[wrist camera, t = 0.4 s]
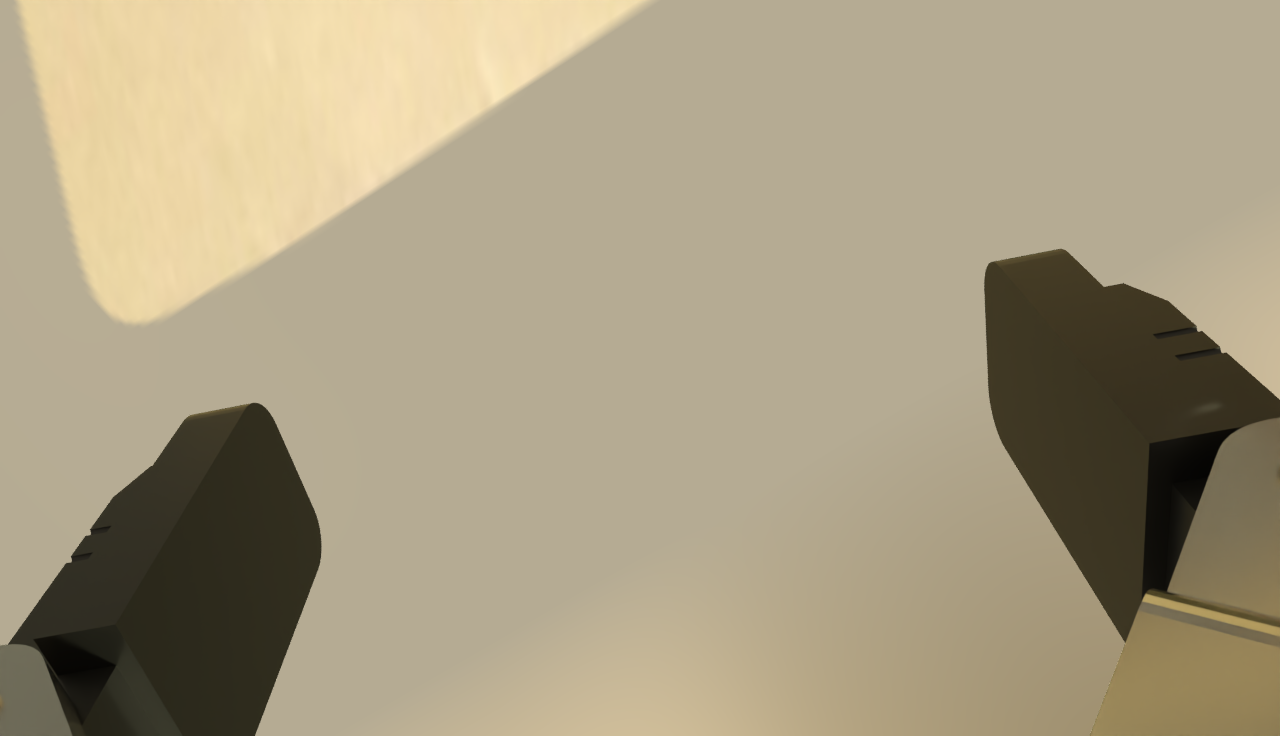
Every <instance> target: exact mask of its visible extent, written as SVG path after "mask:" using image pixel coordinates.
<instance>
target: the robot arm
mask: <svg viewBox="0 0 1280 736" xmlns="http://www.w3.org/2000/svg"><path fill="white" fill-rule="evenodd" d="M984 284H985V285H984V287H985V288H984V291H985V313H986V340H987V364H988V386H989V387H988V388H989V398H990V404H991V410H992V414H993V419H994V422H995V426H996V428H997V431H998V434H999V437H1000V439H1001V441H1002V443H1003V445H1004V447H1005V449H1006V450H1007V452H1008V453H1009V455H1010V457H1011V459H1012V460H1013V462H1014V463H1015V465H1016V467H1017V468H1018V470H1019V472H1020V473H1021V475H1022V476H1023V478H1024V480H1025V481H1026V483H1027V485H1028V486H1029V488H1030V489H1031V491H1032V492H1033V494H1034V496H1035V497H1036V499H1037V501H1038V502H1039V504H1040V505H1041V507H1042V509H1043V510H1044V512H1045V513H1046V515H1047V517H1048V518H1049V520H1050V522H1051V523H1052V525H1053V527H1054V528H1055V530H1056V531H1057V533H1058V535H1059V536H1060V538H1061V539H1062V541H1063V543H1064V544H1065V546H1066V547H1067V549H1068V551H1069V553H1070V554H1071V556H1072V557H1073V559H1074V561H1075V562H1076V564H1077V565H1078V567H1079V569H1080V570H1081V572H1082V574H1083V575H1084V577H1085V578H1086V580H1087V581H1088V583H1089V585H1090V586H1091V588H1092V590H1093V591H1094V593H1095V595H1096V596H1097V598H1098V599H1099V601H1100V603H1101V604H1102V606H1103V608H1104V609H1105V611H1106V612H1107V614H1108V616H1109V617H1110V619H1111V620H1112V622H1113V624H1114V625H1115V627H1116V628H1117V630H1118V632H1119V633H1120V635H1121V637H1122V638H1123V640H1124V641H1125V645H1124V648H1123V651H1122V653H1121V656H1120V658H1119V661H1118V664H1117V666H1116V669H1115V671H1114V674H1113V677H1112V679H1111V682H1110V684H1109V687H1108V690H1107V692H1106V695H1105V698H1104V700H1103V702H1102V705H1101V708H1100V710H1099V713H1098V715H1097V718H1096V720H1095V723H1094V726H1093V728H1092V731H1091V733H1090V736H1280V400H1279V399H1278V398H1277V397H1276V396H1275V395H1274V394H1273V393H1272V392H1270V391H1269V390H1268V389H1267V388H1266V387H1265V386H1263V385H1262V384H1261V383H1260V382H1259V381H1258V380H1257V379H1256V378H1255V377H1253V376H1252V375H1251V374H1250V373H1249V372H1248V371H1247V370H1245V369H1244V368H1243V367H1242V366H1241V365H1240V364H1239V363H1238V362H1236V361H1235V360H1234V359H1233V358H1232V357H1231V356H1230V355H1228V354H1227V353H1221V350H1220V346H1218V345H1217V344H1216V343H1215V342H1214V341H1213V340H1212V339H1210V338H1209V337H1208V336H1207V335H1206V334H1205V333H1204V332H1203V331H1200V332H1198V331H1197V328H1196V327H1197V326H1196V325H1195V324H1194V323H1192V322H1191V321H1190V320H1189V319H1188V318H1187V317H1186V316H1184V315H1183V314H1182V313H1181V312H1180V311H1179V310H1178V309H1176V308H1175V307H1174V306H1173V305H1172V304H1171V303H1170V302H1169V301H1167V300H1164V299H1162V298H1159V297H1157V296H1154V295H1151V294H1149V293H1146V292H1144V291H1141V290H1139V289H1136V288H1133V287H1131V286H1129V285H1126V284H1124V283H1123V284H1118V285H1113V286H1108V287H1103V286H1102V285H1101V284H1100V283H1099V282H1098V281H1097V280H1096V279H1095V278H1094V277H1093V276H1092V275H1091V274H1090V273H1089V272H1088V271H1087V270H1086V269H1085V268H1084V267H1083V266H1082V265H1081V264H1080V263H1079V262H1078V261H1077V260H1075V259H1074V258H1073V257H1072V256H1071V255H1070V254H1069V253H1068V252H1067V251H1066V250H1063V249H1057V250H1052V251H1047V252H1042V253H1036V254H1031V255H1026V256H1021V257H1015V258H1010V259H1005V260H1000V261H995V262H991V263H989V264H988V266H987V269H986V272H985V282H984ZM90 530H91V535H89V536H85V538H84V539H83V540H82V542H81V543H80V544H79V546H78V547H77V549H76V550H75V552H74V553H73V554H72V556H71V558H72V562H71V563H66V564H65V566H64V567H63V568H62V570H61V571H60V573H59V574H58V575H57V577H56V578H55V579H54V581H53V582H52V584H51V585H50V587H49V588H48V589H47V591H46V592H45V593H44V595H43V596H42V598H41V599H40V600H39V602H38V603H37V605H36V606H35V607H34V609H33V610H32V612H31V613H30V615H29V616H28V617H27V619H26V620H25V621H24V623H23V624H22V626H21V627H20V628H19V630H18V631H17V633H16V634H15V635H14V637H13V638H12V640H11V641H10V642H9V644H8V645H1V646H0V736H255V734H256V731H257V729H258V726H259V723H260V721H261V718H262V715H263V713H264V710H265V708H266V705H267V702H268V700H269V697H270V695H271V692H272V689H273V687H274V684H275V681H276V679H277V676H278V673H279V671H280V668H281V666H282V663H283V660H284V657H285V655H286V652H287V650H288V647H289V645H290V642H291V639H292V637H293V634H294V631H295V629H296V626H297V623H298V621H299V618H300V615H301V613H302V610H303V608H304V605H305V602H306V600H307V597H308V595H309V592H310V589H311V587H312V584H313V581H314V579H315V576H316V573H317V571H318V568H319V565H320V559H321V534H320V528H319V523H318V520H317V516H316V513H315V511H314V508H313V506H312V504H311V502H310V499H309V497H308V495H307V493H306V491H305V488H304V486H303V484H302V481H301V479H300V477H299V475H298V472H297V470H296V468H295V466H294V463H293V461H292V459H291V457H290V454H289V452H288V450H287V448H286V446H285V443H284V441H283V439H282V437H281V434H280V432H279V430H278V428H277V425H276V423H275V421H274V419H273V417H272V416H271V414H270V413H269V412H268V410H267V409H266V408H265V407H264V406H262V405H261V404H258V403H251V404H246V405H240V406H235V407H230V408H225V409H220V410H215V411H209V412H205V413H199V414H194V415H190V416H188V417H187V418H186V419H185V420H184V421H183V423H182V424H181V425H180V427H179V428H178V430H177V431H176V433H175V434H174V436H173V437H172V438H171V440H170V441H169V443H168V444H167V446H166V447H165V449H164V450H163V452H162V453H161V455H160V456H159V457H158V459H157V460H156V462H155V463H154V465H153V466H151V467H149V468H148V469H147V470H146V471H144V473H142V474H141V475H140V476H138V477H137V478H136V479H135V480H134V481H132V482H131V483H130V484H129V485H128V486H126V487H125V488H124V489H123V490H122V491H120V492H119V493H118V494H117V495H115V496H114V497H113V498H112V500H111V501H110V503H109V504H108V505H107V507H106V508H105V510H104V511H103V512H102V514H101V515H100V517H99V518H98V519H97V521H96V522H95V524H94V525H93V526H92V528H91V529H90Z"/></svg>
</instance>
